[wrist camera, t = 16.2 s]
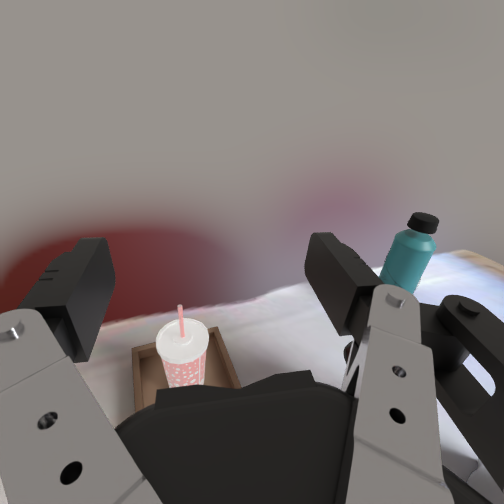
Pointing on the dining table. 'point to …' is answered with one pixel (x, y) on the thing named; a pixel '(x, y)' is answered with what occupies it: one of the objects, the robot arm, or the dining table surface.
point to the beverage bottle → (410, 253)
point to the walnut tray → (154, 377)
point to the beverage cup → (183, 350)
